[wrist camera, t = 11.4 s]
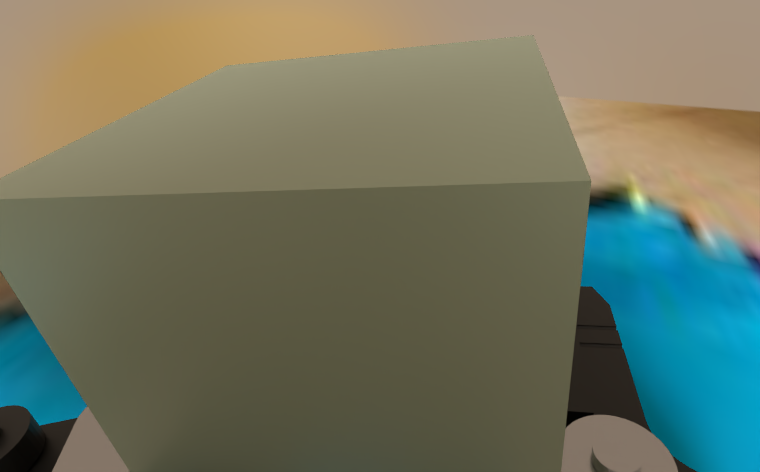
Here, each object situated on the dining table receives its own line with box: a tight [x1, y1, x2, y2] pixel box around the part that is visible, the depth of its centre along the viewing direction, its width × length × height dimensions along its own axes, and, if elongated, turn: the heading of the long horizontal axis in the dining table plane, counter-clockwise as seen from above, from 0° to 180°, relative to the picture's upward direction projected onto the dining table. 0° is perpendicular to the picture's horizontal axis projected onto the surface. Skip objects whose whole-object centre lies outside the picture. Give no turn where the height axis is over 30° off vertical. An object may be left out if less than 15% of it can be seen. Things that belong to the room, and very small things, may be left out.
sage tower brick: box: [0, 35, 591, 472], centre depth 9 cm, size 5×5×12 cm
